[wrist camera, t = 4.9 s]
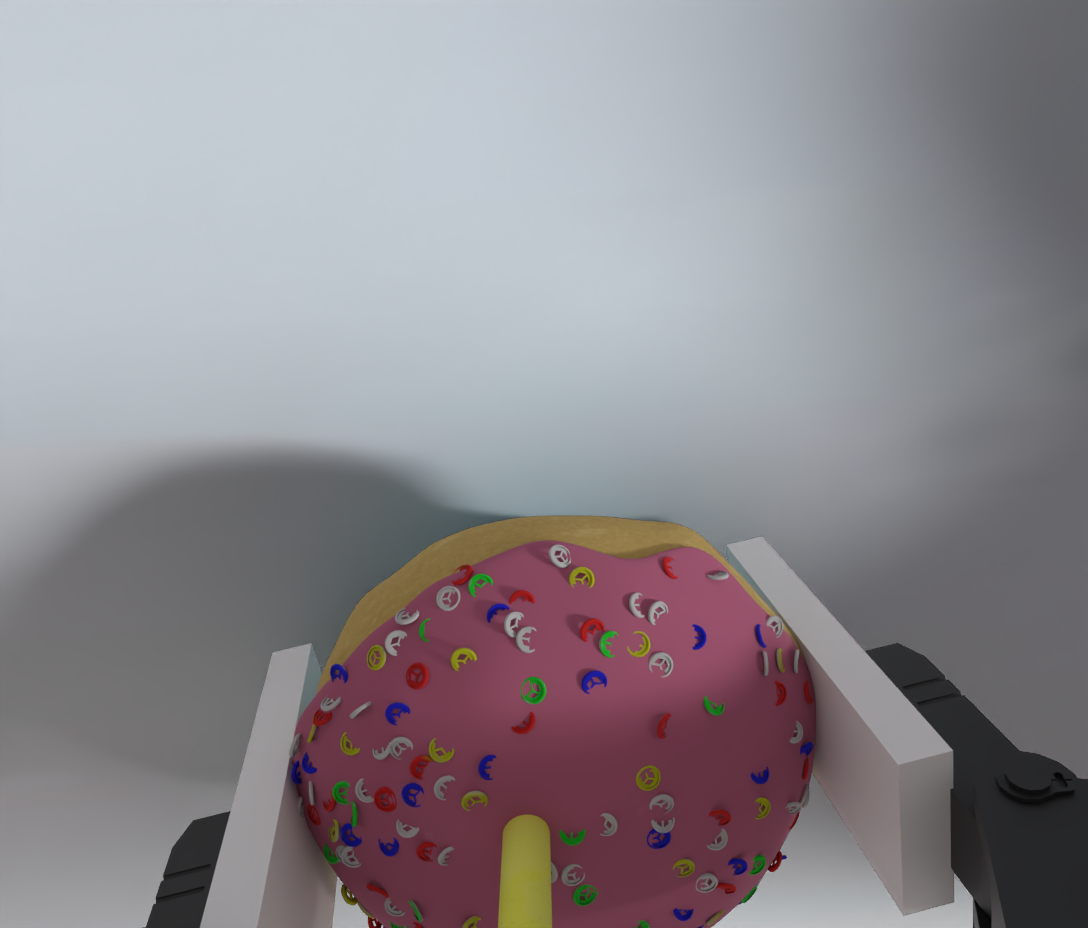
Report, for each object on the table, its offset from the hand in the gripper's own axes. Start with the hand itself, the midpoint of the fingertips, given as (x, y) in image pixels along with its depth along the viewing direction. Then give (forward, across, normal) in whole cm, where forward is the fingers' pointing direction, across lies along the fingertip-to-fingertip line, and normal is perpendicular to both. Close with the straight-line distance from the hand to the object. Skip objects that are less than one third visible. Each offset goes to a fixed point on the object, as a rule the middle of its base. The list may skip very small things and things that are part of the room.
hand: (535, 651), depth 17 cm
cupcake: (+2, 0, 0) cm, 2 cm away
